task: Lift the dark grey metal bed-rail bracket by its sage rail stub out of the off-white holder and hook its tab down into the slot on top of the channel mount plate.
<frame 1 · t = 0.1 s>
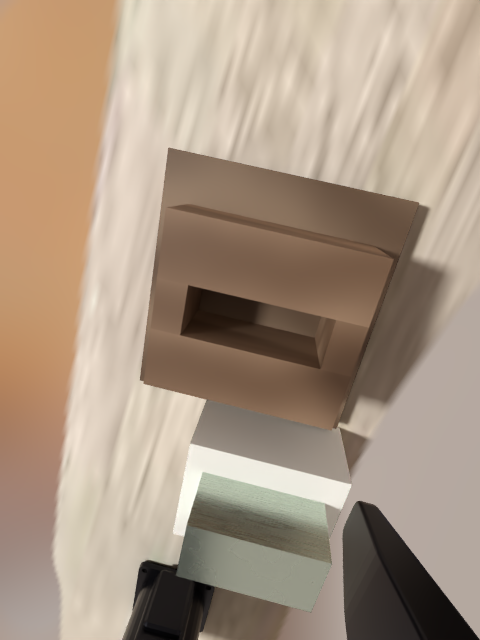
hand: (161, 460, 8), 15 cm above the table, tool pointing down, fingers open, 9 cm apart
rail bracket: (260, 467, 24), point 1 cm above the table, touching bracket holder
bracket holder: (261, 452, 26), on the table
channel mount plate: (262, 298, 22), on the table
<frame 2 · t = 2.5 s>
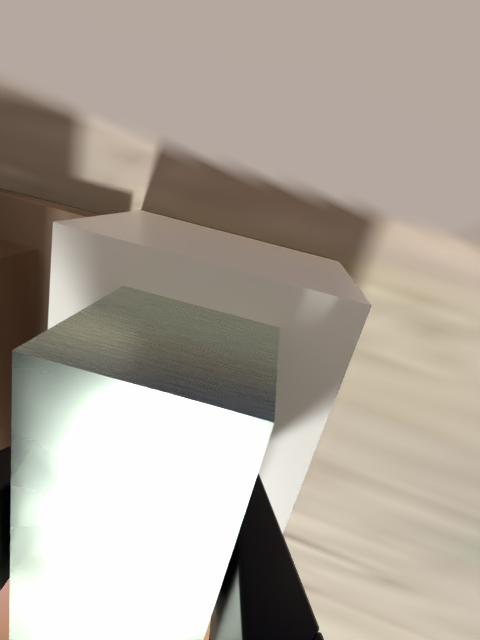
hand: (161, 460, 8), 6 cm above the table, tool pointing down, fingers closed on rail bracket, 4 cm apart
rail bracket: (203, 369, 13), point 1 cm above the table, touching bracket holder, gripper
bracket holder: (212, 351, 14), on the table
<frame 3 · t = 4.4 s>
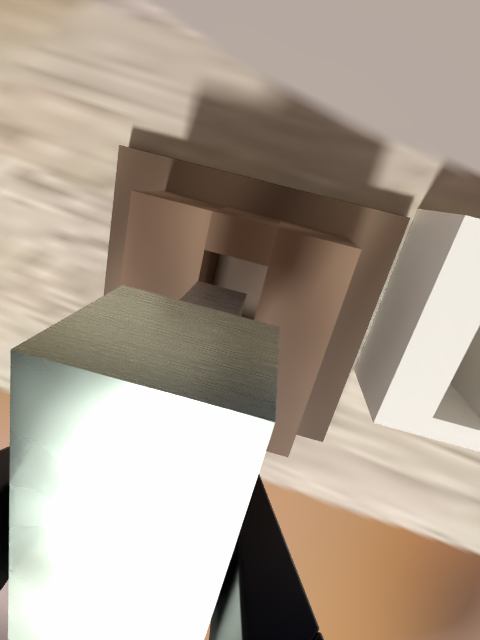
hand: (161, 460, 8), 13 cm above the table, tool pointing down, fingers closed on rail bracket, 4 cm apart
rail bracket: (203, 369, 13), point 8 cm above the table, touching gripper
bracket holder: (449, 313, 19), on the table
channel mount plate: (234, 303, 20), on the table
when the fingers open (7 cm above the table, at t = 6.6 s): rail bracket moves 1 cm, resting on channel mount plate.
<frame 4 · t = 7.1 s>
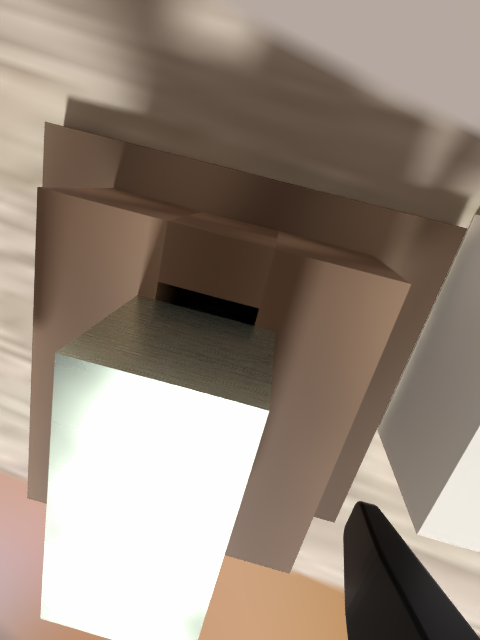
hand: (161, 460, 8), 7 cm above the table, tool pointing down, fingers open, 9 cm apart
rail bracket: (207, 368, 14), point 1 cm above the table, touching channel mount plate
channel mount plate: (215, 341, 15), on the table
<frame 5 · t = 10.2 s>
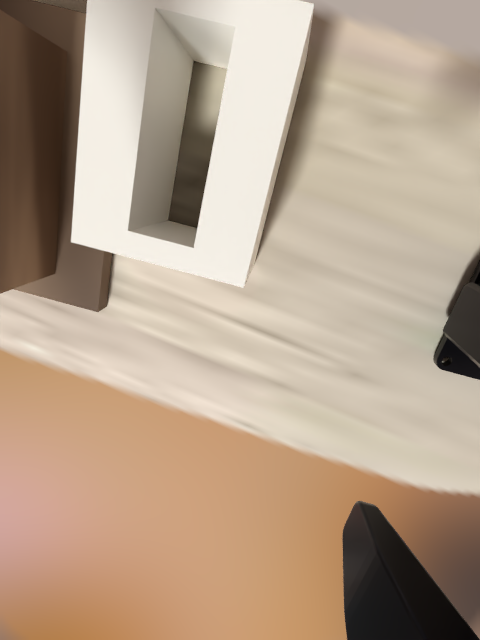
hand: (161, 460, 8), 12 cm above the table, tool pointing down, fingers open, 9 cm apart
bracket holder: (206, 153, 17), on the table
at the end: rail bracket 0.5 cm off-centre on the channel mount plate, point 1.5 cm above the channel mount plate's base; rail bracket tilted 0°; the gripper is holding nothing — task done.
